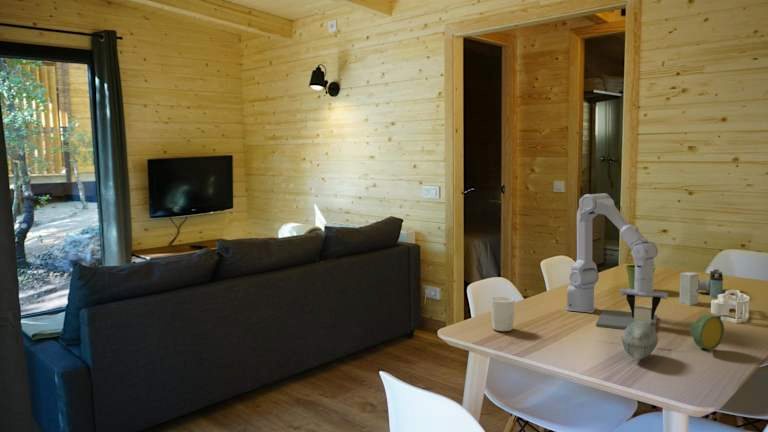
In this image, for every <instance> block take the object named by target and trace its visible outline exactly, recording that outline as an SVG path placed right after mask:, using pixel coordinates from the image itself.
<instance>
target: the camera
mask: <svg viewBox="0 0 768 432" xmlns="http://www.w3.org/2000/svg"><path fill="white" fill-rule="evenodd" d="M709 274H710V275H709V278H707V279H703V280H702V279H698V291H705V292H706V293H708V294H709V295H708V296H709V297H710V298H712V299H718V294H723V285H724V284H723V282H724V276H723V272H722V271H720V269H718V268H713V270H710V273H709Z"/></svg>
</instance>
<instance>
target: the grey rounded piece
mask: <svg viewBox="0 0 768 432" xmlns="http://www.w3.org/2000/svg"><path fill="white" fill-rule="evenodd" d="M658 342H659V336H658V334H657V331H656V328H655V329H654V328H653V327H652V325H650V324H649V323H648V322H645V321H635V322H633V323H632V324H630V325H629V326H628V327H627V328H626V329H625V330H624V329H623V332H622V334H621V344H622V346H623V348H624V351H625V352H626V353H627V354H628V355H629V356H630V357H632V359H633V358H634V359H636V360H639V359H640V360H641V359H645V358H646V357H648V356H649V355H651V354H652V353H653V351H655V349H656V347H657V345H658Z"/></svg>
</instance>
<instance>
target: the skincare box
mask: <svg viewBox="0 0 768 432" xmlns="http://www.w3.org/2000/svg"><path fill="white" fill-rule="evenodd" d="M698 280H699V273H697V272H691V271H687V272H681V273H680V274H679V301H678V303H679V304H680V305H685V306H689V307H690V306H691V307H692V306H694V305H696V304H698V303H699V290H698Z"/></svg>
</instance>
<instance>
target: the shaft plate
mask: <svg viewBox="0 0 768 432" xmlns="http://www.w3.org/2000/svg"><path fill="white" fill-rule="evenodd" d="M657 321H658V314H654V319H653V320H652V321H651V324H650V325H652V327H653V328H654V329H655V330H656V328H657ZM633 322H634V318H632V312H631V311H622V310H621V311H620V310H611V309H602V311H601V314H600V315H599V317H598V319H597V321H596V323H595V324H596V325H595V327H599V328H607V329H608V328H609V329H616V330H618V329H619V330H623V331H624V330H625V329H626V328H627V327H628V326H629V325H630V324H632V323H633Z"/></svg>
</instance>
